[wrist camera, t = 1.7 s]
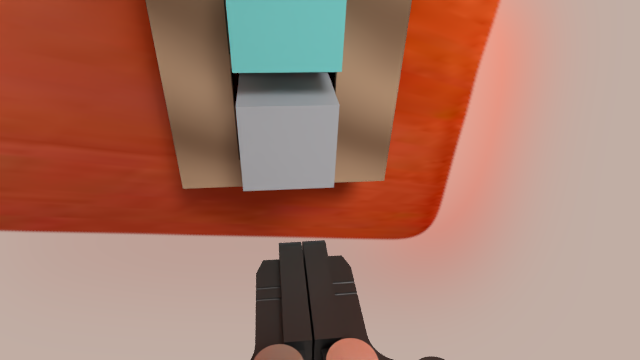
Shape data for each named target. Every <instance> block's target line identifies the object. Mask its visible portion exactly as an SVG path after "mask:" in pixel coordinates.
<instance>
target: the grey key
mask: <svg viewBox="0 0 640 360" xmlns="http://www.w3.org/2000/svg"><path fill="white" fill-rule="evenodd" d="M339 106H340V105H339V102H338V99H337V97H336V94H335V91H334V88H333V86H332V83H331V80H330V77H329V75H328V72H288V73H239V82H238V90H237V99H236V118H237V128H238V139H239V150H240V161H241V171H242V182H243V191H260V190H284V189H308V188H332V187H334V180H335V165H336V150H337V135H338V121H339Z"/></svg>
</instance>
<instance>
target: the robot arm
mask: <svg viewBox="0 0 640 360" xmlns="http://www.w3.org/2000/svg"><path fill="white" fill-rule="evenodd" d="M255 339H256V340H255V343H256V344H255V350H254V354H253V356H252V358H251V360H393V359H389V358H387V357H385V356H383V355H382V354H380V353H379V352H378V351H377V350H375V348H374V347H373V346H372V345H371V343H370V341H369V339H368V336H367V333H366V329H365V324H364V321H363V316H362V312H361V308H360V304H359V300H358V295H357V291H356V287H355V284H354V278H353V274H352V270H351V267H350V266H349V264H348V263H347V262H346V260H345V259H344V258H343V257H342V256H328V254H327V249H326V243H325V241H324V240H323V241H306V242H302V245H301V242H291V243H279V260H264V261H263V262H262V264H261V266H260V267H259V269H258V272H257V273H256V337H255ZM420 360H444V359H442V358H438V357H424V358H421V359H420Z"/></svg>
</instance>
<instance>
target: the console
mask: <svg viewBox="0 0 640 360" xmlns="http://www.w3.org/2000/svg"><path fill="white" fill-rule="evenodd" d="M145 1H146V6H147V11H148V16H149V21H150V26H151V31H152V36H153V41H154V46H155V51H156V56H157V61H158V66H159V71H160V76H161V81H162V86H163V91H164V96H165V101H166V106H167V111H168V116H169V121H170V126H171V131H172V136H173V141H174V146H175V151H176V156H177V161H178V166H179V171H180V176H181V181H182V186H183V189H189V188H214V187H239V186H243V182H242V171H241V161H240V150H239V139H238V134H237V126H236V115H235V104H234V94H233V83H232V73H231V69H232V64H231V53H230V51H229V41H228V30H227V19H226V9H225V0H145ZM411 2H412V0H347V3H346V17H345V32H344V47H343V62H342V72H335V84H334V91H335V94H336V97H337V99H338V102H339V105H340V106H339V121H338V135H337V150H336V165H335V180H334V183H337V182H362V181H384V177H385V171H386V164H387V158H388V151H389V145H390V138H391V132H392V125H393V119H394V112H395V106H396V99H397V93H398V87H399V80H400V74H401V67H402V61H403V54H404V48H405V41H406V35H407V28H408V22H409V15H410V9H411Z"/></svg>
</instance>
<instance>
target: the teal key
mask: <svg viewBox="0 0 640 360" xmlns="http://www.w3.org/2000/svg"><path fill="white" fill-rule="evenodd" d="M346 3H347V0H226V10H227V21H228V32H229V42H230V53H231V64H232V73H288V72H342V62H343V47H344V32H345V17H346Z"/></svg>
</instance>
